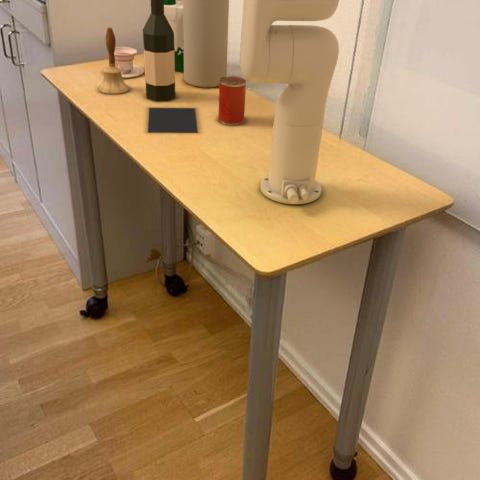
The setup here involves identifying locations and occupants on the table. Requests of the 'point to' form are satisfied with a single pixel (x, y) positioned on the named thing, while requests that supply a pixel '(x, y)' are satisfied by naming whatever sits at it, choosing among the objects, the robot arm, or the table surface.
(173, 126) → the placemat
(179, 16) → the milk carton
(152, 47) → the wine bottle
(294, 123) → the robot arm
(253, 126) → the table surface
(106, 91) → the hand bell
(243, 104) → the tin can
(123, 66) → the teacup
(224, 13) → the cylinder vase
